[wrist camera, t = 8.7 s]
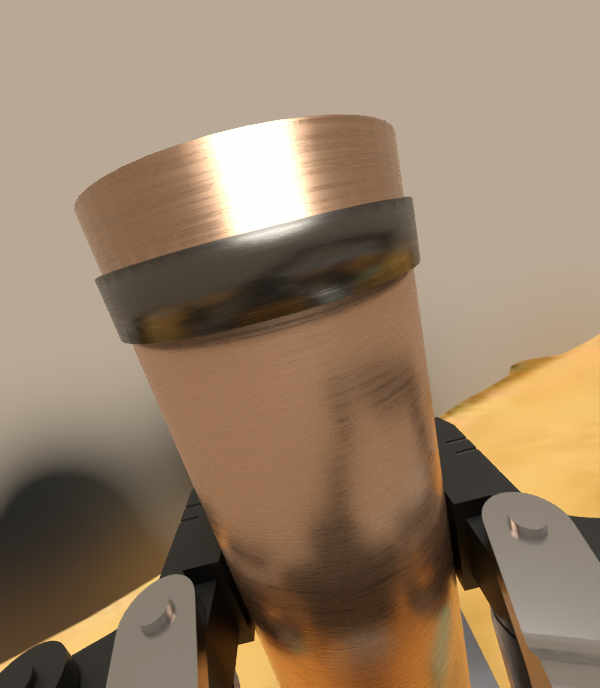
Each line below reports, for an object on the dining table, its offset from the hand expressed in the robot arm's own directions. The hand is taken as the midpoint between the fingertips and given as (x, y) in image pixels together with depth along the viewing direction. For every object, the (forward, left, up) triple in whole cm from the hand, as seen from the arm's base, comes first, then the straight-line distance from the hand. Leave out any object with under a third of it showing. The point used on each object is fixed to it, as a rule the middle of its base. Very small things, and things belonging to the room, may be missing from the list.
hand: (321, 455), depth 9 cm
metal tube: (0, +3, -9) cm, 9 cm away
